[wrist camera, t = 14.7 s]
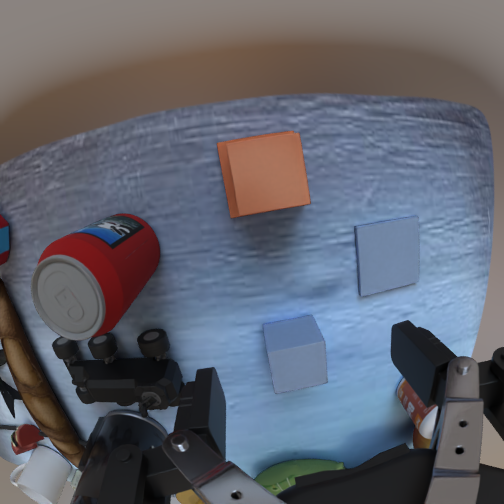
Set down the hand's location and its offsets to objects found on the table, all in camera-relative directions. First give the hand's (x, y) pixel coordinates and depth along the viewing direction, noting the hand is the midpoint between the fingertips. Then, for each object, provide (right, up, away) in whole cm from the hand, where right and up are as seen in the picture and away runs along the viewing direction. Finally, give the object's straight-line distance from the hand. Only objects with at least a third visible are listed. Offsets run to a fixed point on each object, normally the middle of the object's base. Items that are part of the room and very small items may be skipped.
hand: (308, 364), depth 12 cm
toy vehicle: (-17, -7, +18) cm, 26 cm away
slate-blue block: (+2, -4, +17) cm, 18 cm away
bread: (-30, -16, +19) cm, 39 cm away
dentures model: (-38, -24, +19) cm, 49 cm away
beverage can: (-14, +5, +14) cm, 21 cm away
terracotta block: (-1, +11, +12) cm, 17 cm away
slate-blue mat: (+11, +5, +15) cm, 20 cm away
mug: (-42, -34, +24) cm, 59 cm away
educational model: (+12, -34, +21) cm, 42 cm away
